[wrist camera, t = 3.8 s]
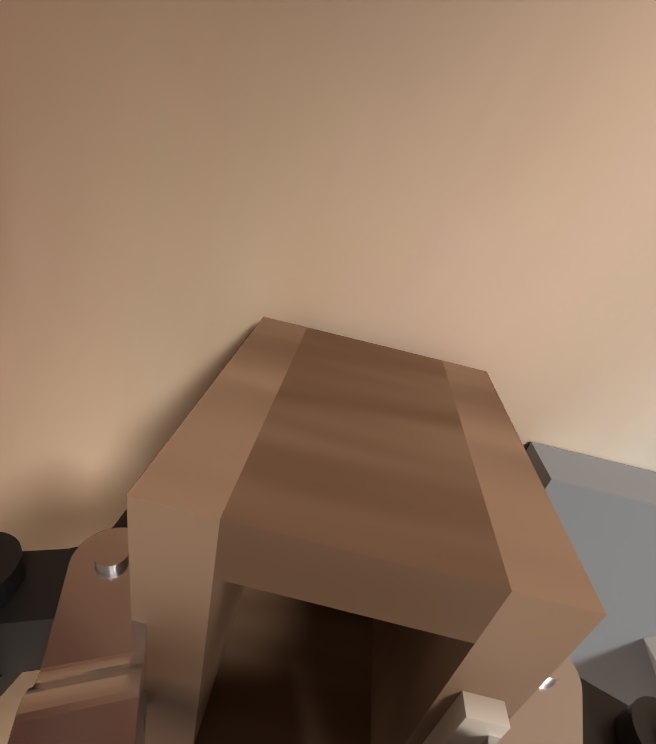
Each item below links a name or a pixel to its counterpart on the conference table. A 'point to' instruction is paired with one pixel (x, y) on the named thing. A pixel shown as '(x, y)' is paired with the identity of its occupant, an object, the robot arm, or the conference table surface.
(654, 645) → the base
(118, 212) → the conference table surface
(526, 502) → the open cubby box
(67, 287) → the conference table surface
